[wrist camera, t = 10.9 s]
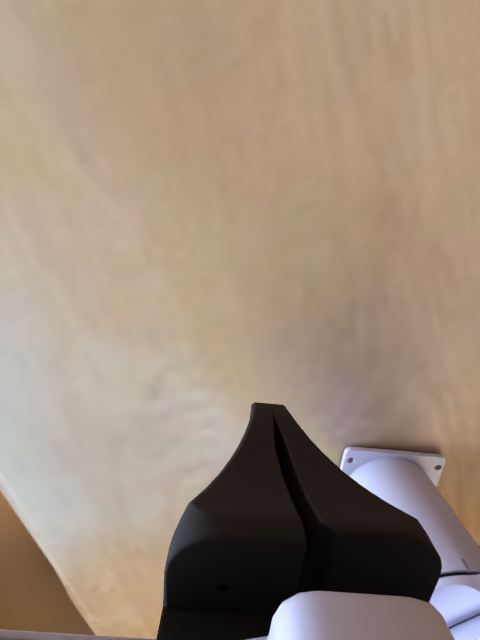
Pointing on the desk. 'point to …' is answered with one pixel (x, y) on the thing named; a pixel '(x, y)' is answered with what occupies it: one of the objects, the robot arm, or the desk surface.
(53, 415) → the desk surface
